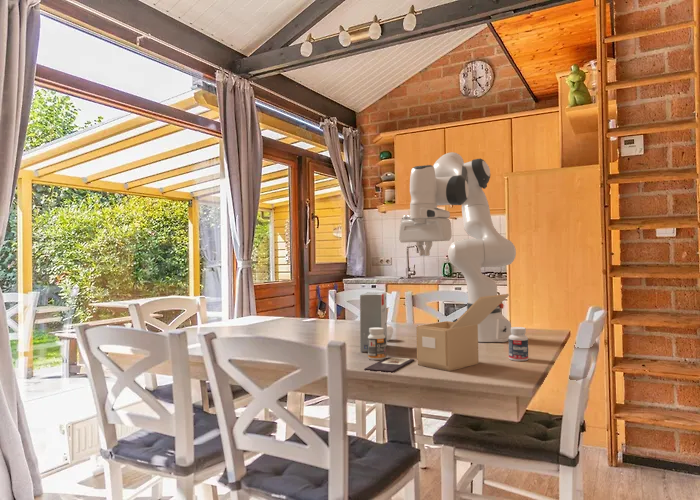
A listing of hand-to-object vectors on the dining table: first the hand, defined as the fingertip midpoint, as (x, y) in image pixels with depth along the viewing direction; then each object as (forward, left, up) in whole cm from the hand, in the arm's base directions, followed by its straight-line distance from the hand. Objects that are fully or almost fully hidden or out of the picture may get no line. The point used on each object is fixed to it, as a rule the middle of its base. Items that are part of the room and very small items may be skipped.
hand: (424, 255), depth 174 cm
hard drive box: (+2, -23, -33) cm, 41 cm away
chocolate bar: (+18, +1, -34) cm, 38 cm away
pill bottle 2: (-16, +24, -33) cm, 44 cm away
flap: (+5, +19, -21) cm, 29 cm away
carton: (+5, +13, -33) cm, 36 cm away
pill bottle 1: (+14, -9, -33) cm, 37 cm away
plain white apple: (-13, -33, -33) cm, 49 cm away
